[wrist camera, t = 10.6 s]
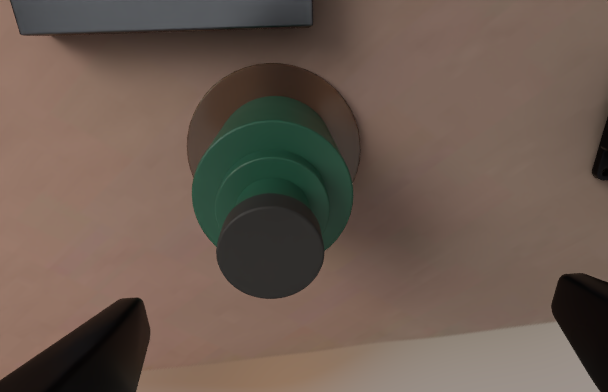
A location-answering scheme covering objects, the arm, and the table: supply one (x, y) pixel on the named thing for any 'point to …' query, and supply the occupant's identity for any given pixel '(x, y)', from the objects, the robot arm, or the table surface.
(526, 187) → the table surface
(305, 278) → the green bottle
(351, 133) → the walnut coaster
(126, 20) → the black flat square slab
